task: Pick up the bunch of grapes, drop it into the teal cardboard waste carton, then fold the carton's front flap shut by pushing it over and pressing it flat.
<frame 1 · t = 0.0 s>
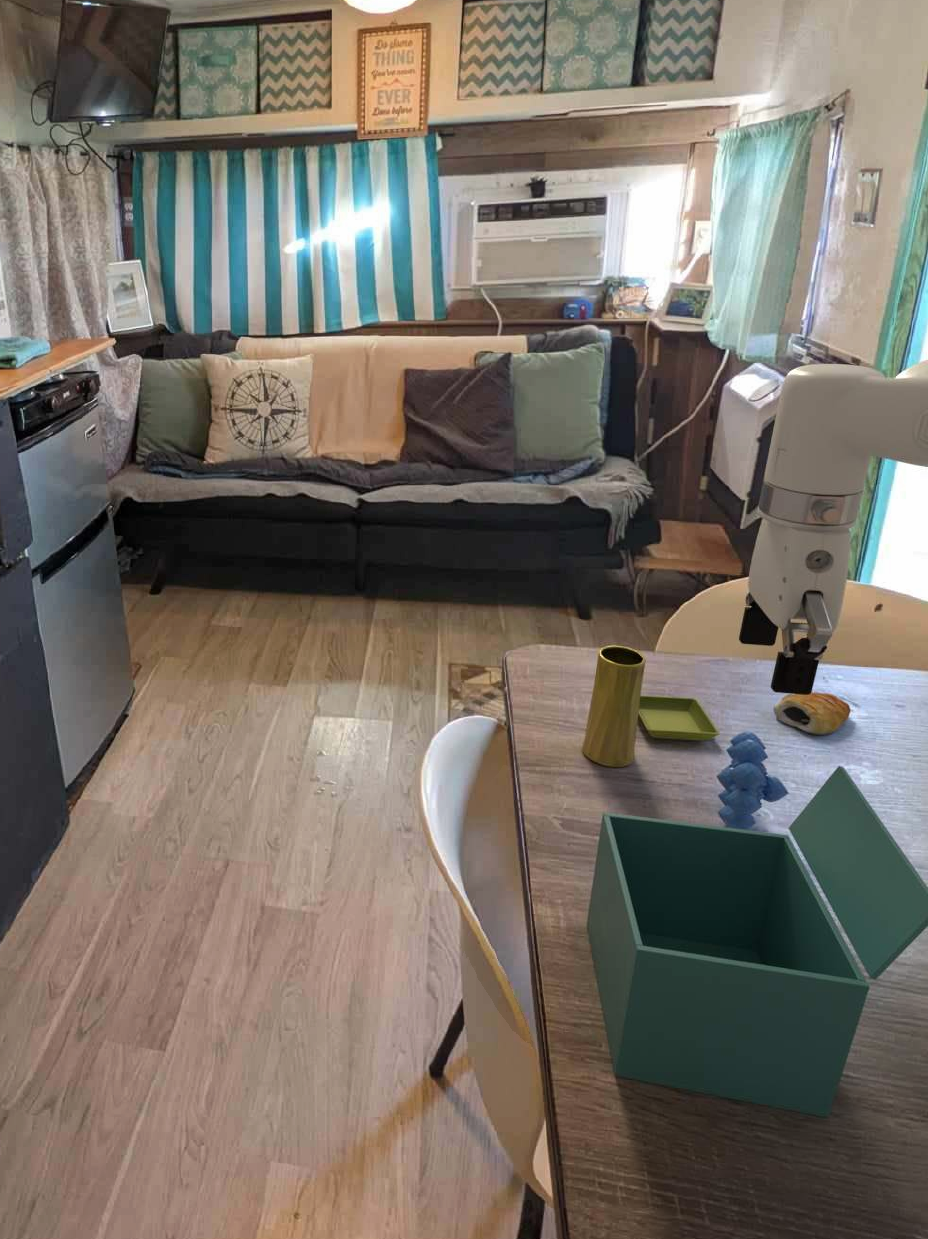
hand: (772, 666, 83), 22 cm above the table, tool pointing down, fingers open, 9 cm apart
carton: (692, 1009, 73), on the table
flap: (855, 863, 64), point 18 cm above the table, hinge at 110.0°
vase: (607, 755, 107), on the table
pastry: (809, 721, 112), on the table
grapes: (741, 830, 93), on the table
olive green shallow tray: (670, 727, 112), on the table
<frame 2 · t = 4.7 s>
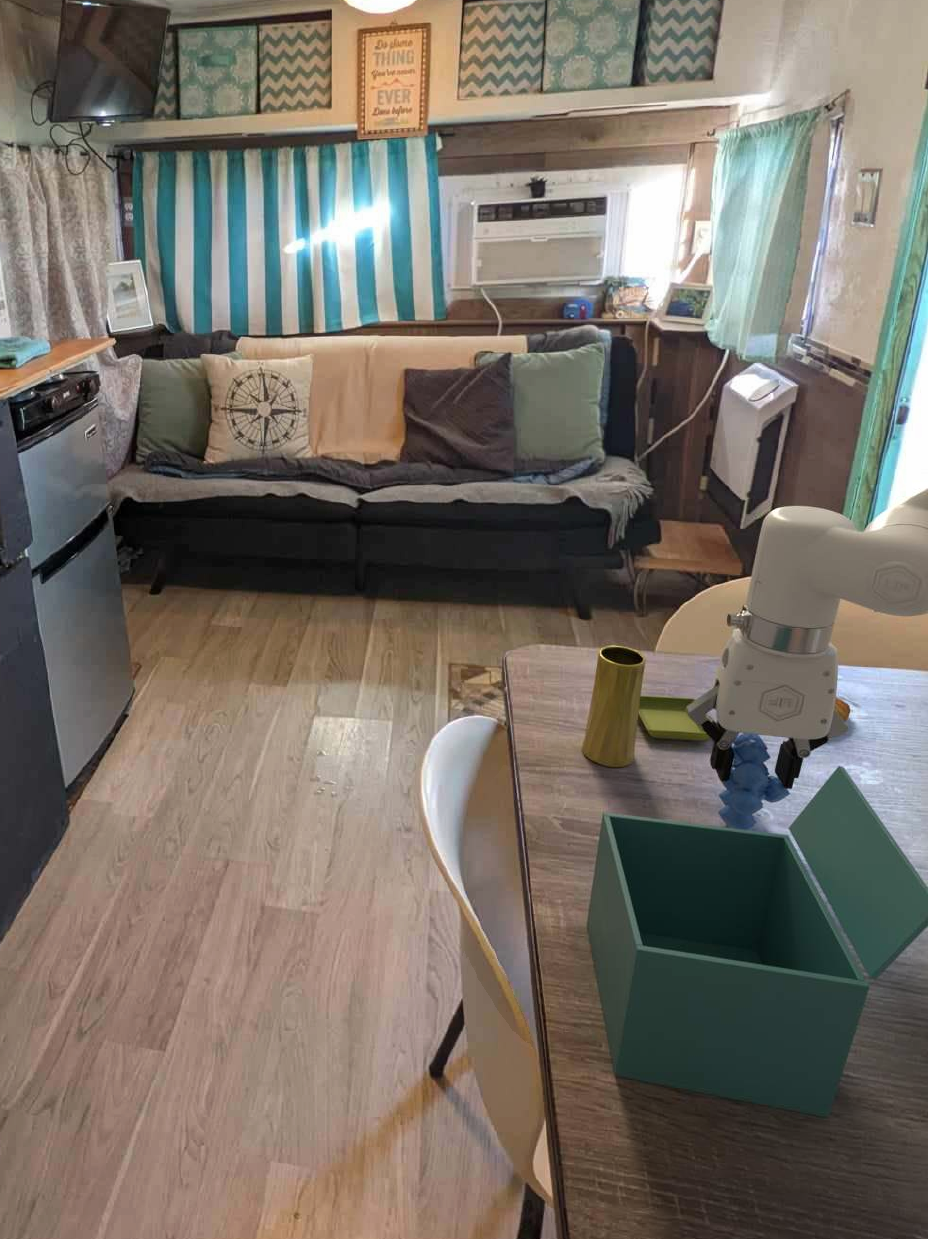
hand: (751, 775, 91), 7 cm above the table, tool pointing down, fingers closed on grapes, 5 cm apart
grapes: (741, 830, 93), on the table, touching gripper
everything else where it was.
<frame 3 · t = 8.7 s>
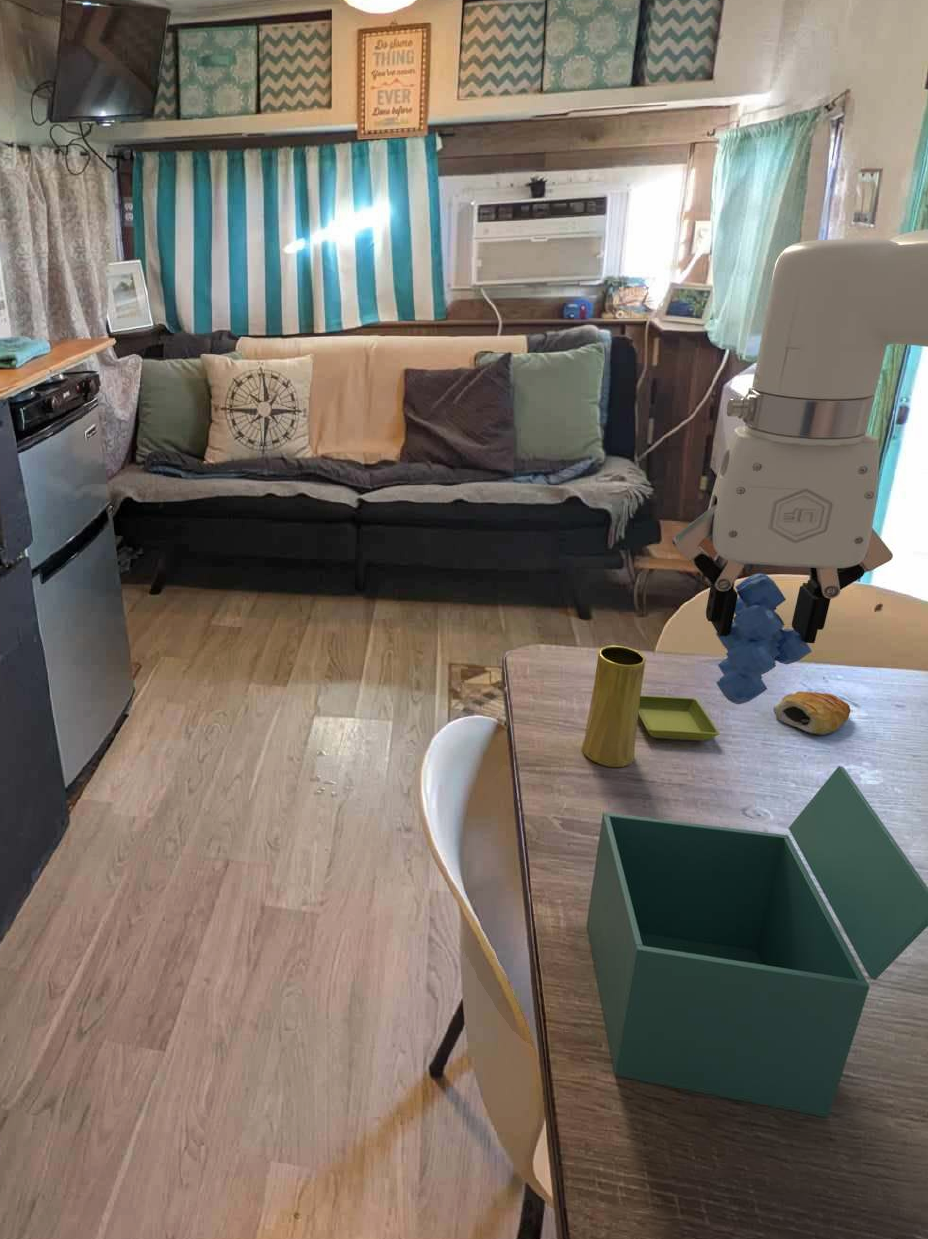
hand: (760, 630, 69), 32 cm above the table, tool pointing down, fingers closed on grapes, 5 cm apart
grapes: (747, 706, 71), point 25 cm above the table, touching gripper
everything else where it was.
when the fingers open (18 cm above the table, at t = 12.9 s): grapes drops 10 cm, resting on carton.
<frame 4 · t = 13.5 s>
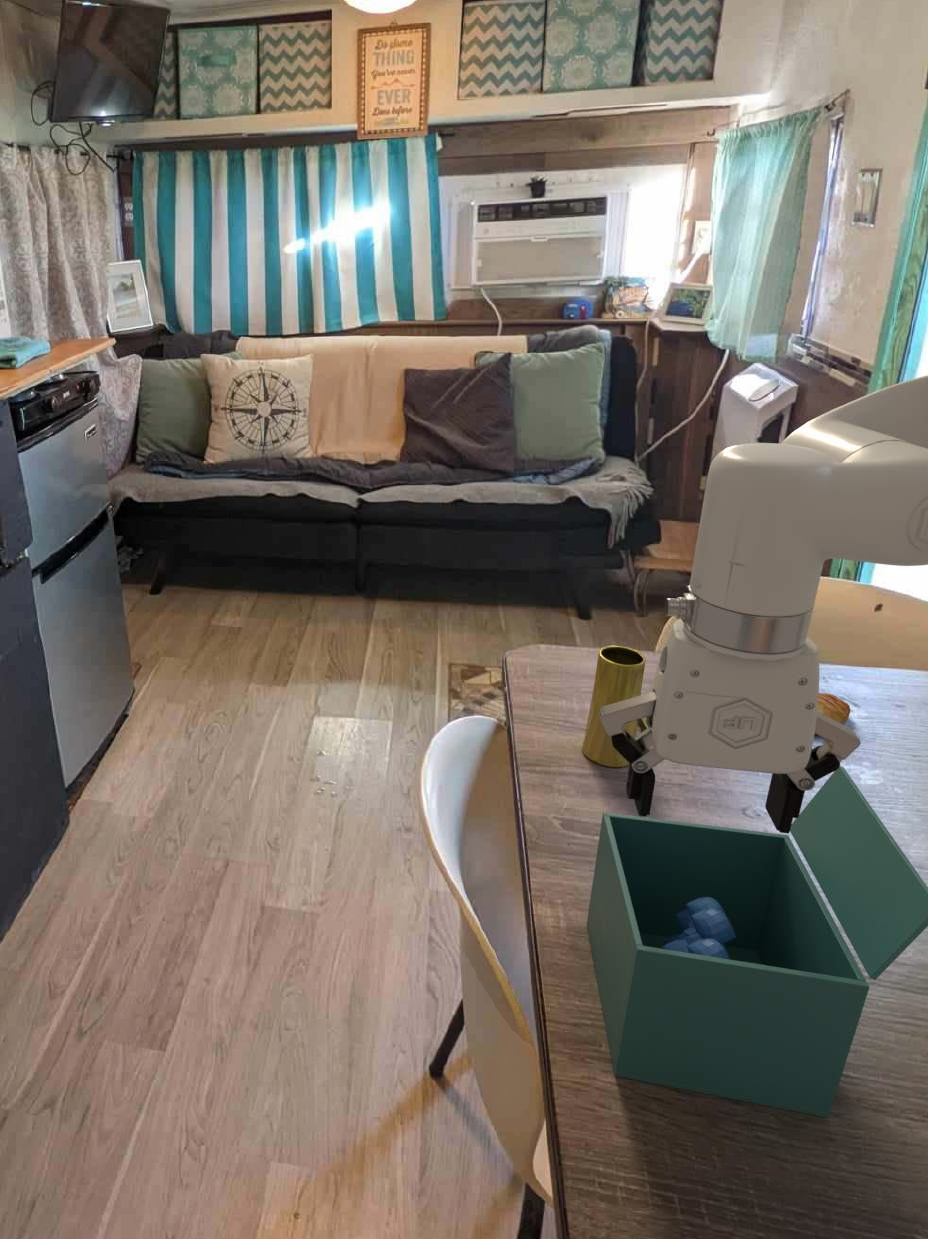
hand: (706, 813, 66), 21 cm above the table, tool pointing down, fingers open, 9 cm apart
grapes: (681, 990, 74), point 1 cm above the table, touching carton
everything else where it was.
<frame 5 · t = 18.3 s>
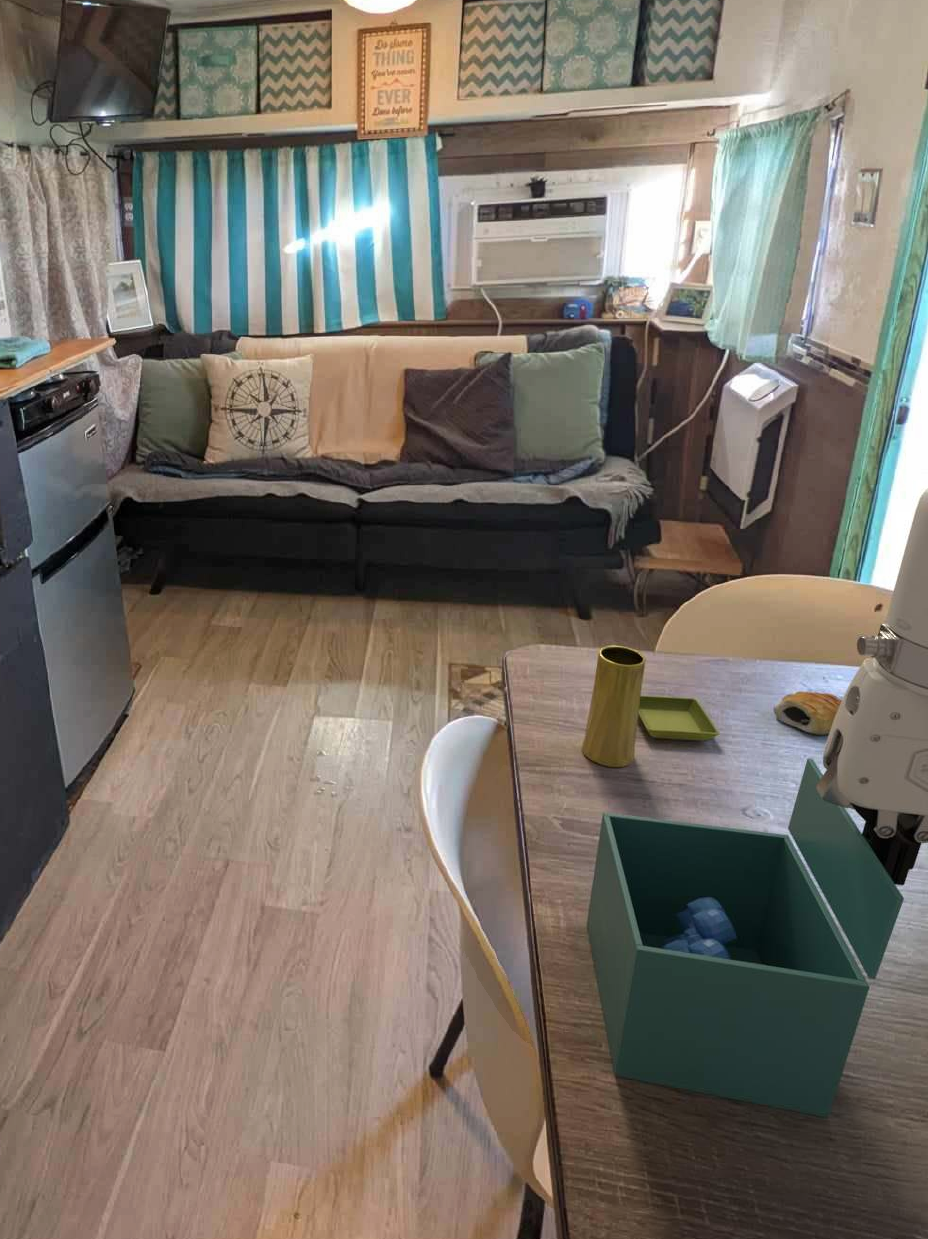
hand: (881, 870, 64), 17 cm above the table, tool pointing down, fingers closed
flap: (838, 858, 64), point 18 cm above the table, hinge at 91.3°, touching gripper
everything else where it was.
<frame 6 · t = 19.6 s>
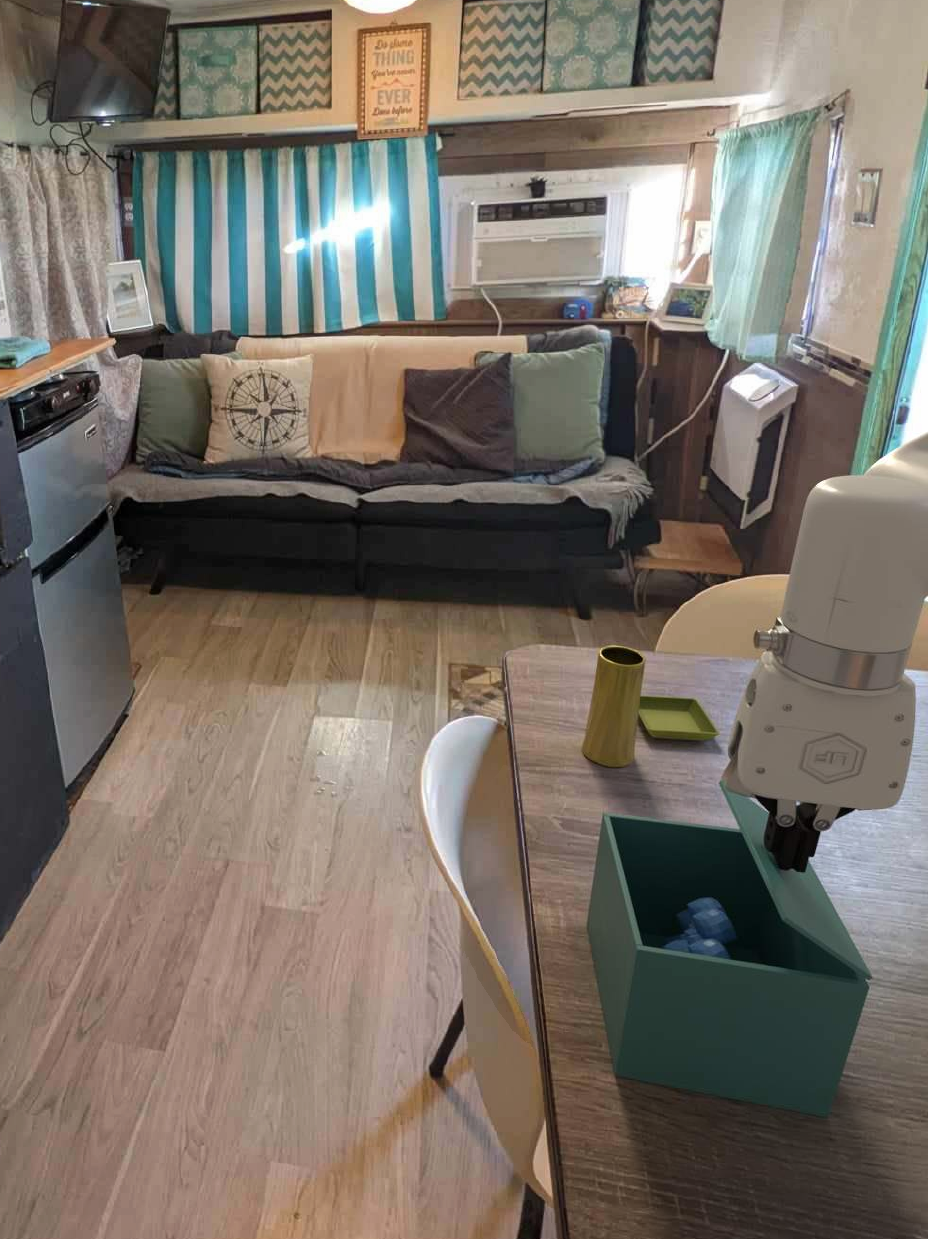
hand: (785, 858, 65), 17 cm above the table, tool pointing down, fingers closed
flap: (787, 869, 66), point 16 cm above the table, hinge at 34.6°, touching gripper
everything else where it was.
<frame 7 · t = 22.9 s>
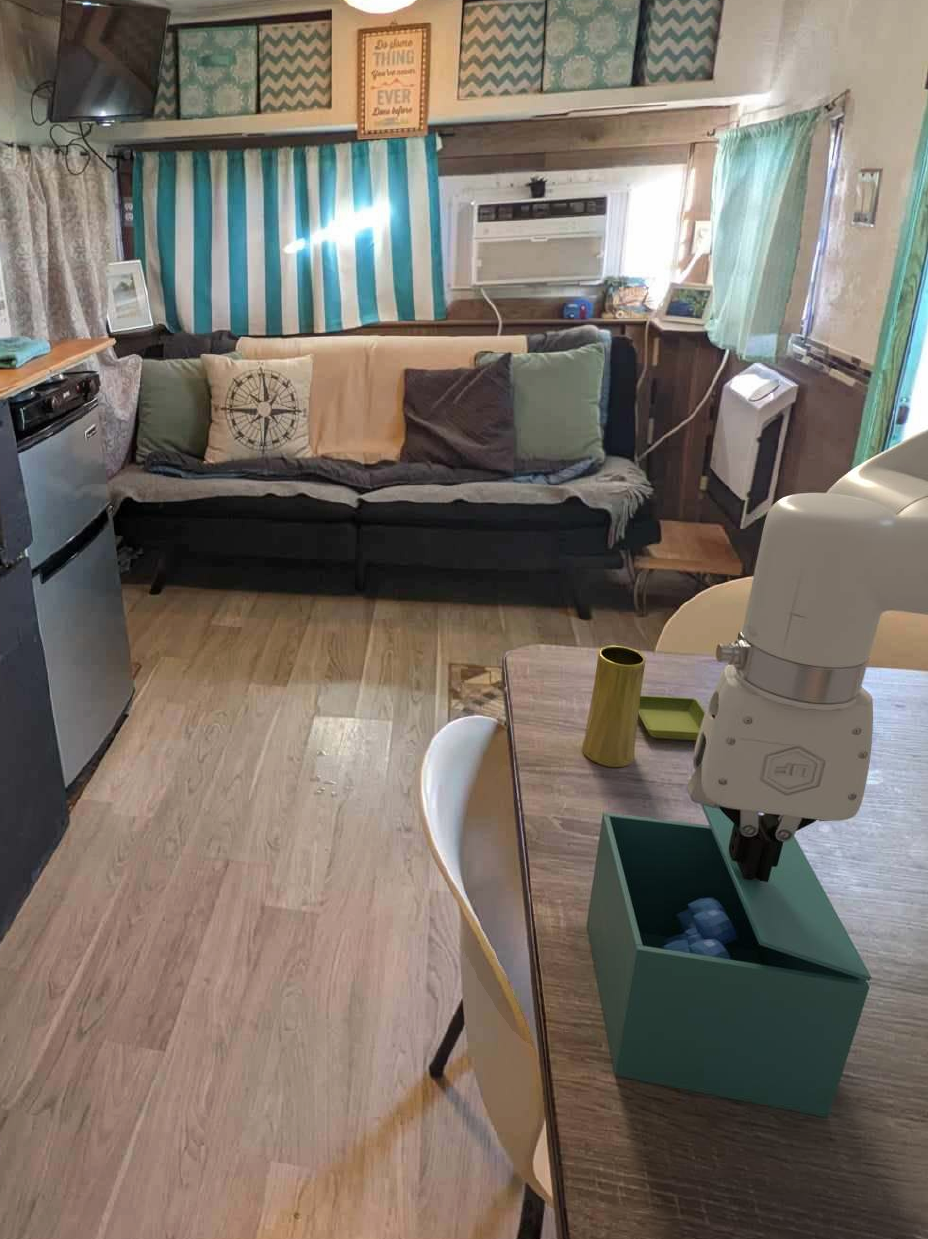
hand: (749, 867, 67), 16 cm above the table, tool pointing down, fingers closed
flap: (776, 880, 66), point 15 cm above the table, hinge at 13.8°, touching gripper
everything else where it was.
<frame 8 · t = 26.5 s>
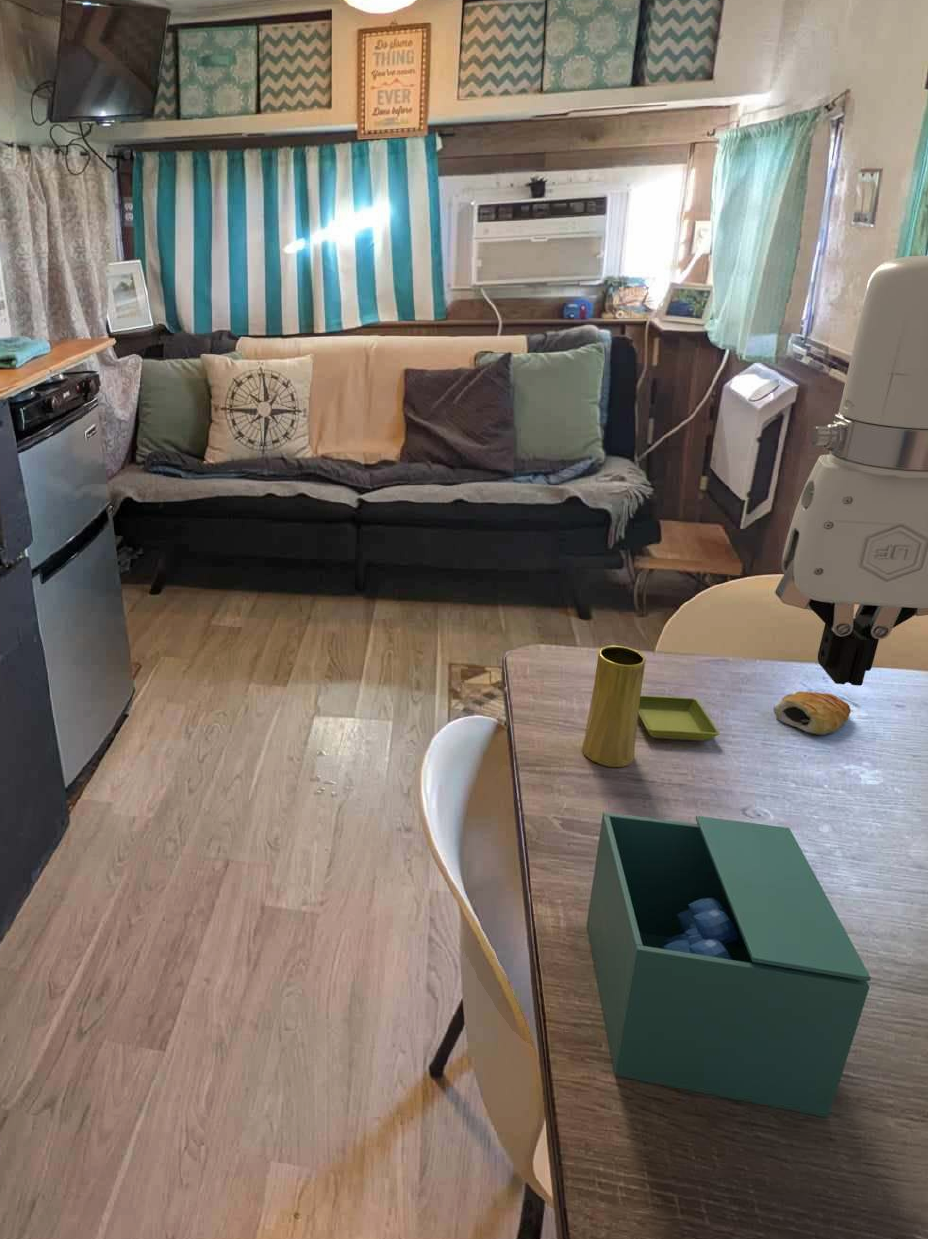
hand: (840, 675, 64), 31 cm above the table, tool pointing down, fingers closed
flap: (772, 888, 67), point 14 cm above the table, hinge at 0.8°
everything else where it was.
at the end: grapes inside the target area in the carton (1.4 cm from its centre), point 0.8 cm above the carton's base; flap at +1° (first picture: +110°) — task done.
